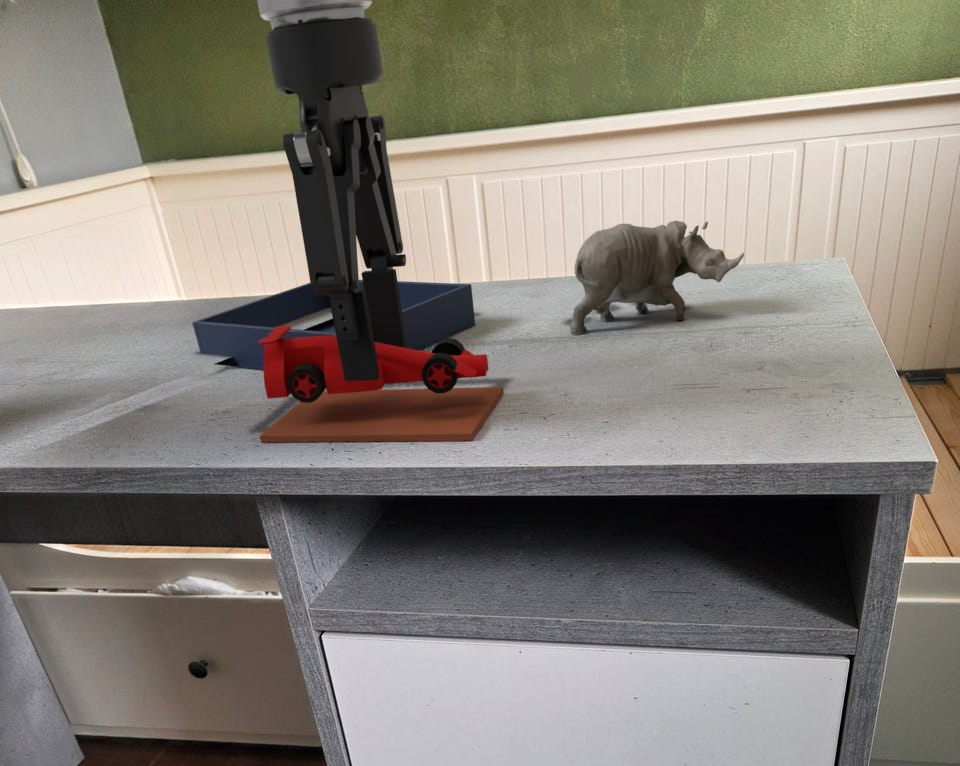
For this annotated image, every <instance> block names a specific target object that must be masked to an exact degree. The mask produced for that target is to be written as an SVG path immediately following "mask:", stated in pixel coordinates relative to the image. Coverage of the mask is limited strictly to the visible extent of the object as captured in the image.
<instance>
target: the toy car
mask: <svg viewBox="0 0 960 766" xmlns="http://www.w3.org/2000/svg"><path fill="white" fill-rule="evenodd" d="M290 329H292V326H291V325H280V326H277V327H274V329H273V332H271V333H269V336H268V337H265V338H263V339H261V340H260V341H259V342H258V344H265V346H264V370H263V382H264V383H263V384H264V388H265V389H264V390H265V393H266V398H267V399H282V398H288V397H290V395H292V397H293V398H294V399H295V400H297V401H299V402H303V403H311V402H314V401H316V400H317V399H318V398H319V397H320V395H321V394H322V393H323V392H324V391H327V394H340V393H353V392H364V391H374V390H383V388H384V387H385V385H392V384H405V383H420V382H423V385H424V387H426V389H429V390H431V391H433V392H435V393H446V392H448V391H450V390H451V389H452V388H455V386H456V385H457V382H458V380H459V379H468V378H469V379H472V378H483V377H484V378H485V377H486V376H487V374H488V371H489V361H488V356H487V354H486V353H484V354H482V353H481V354H474V353H472V352H470V351H469V350H468V349H466V348H465V346H464V345H463V343H461V341H459V340H458V339H456V338H451V337H448V338H445V339H442V340H440V341H439V342H438V343H435V344H434V347H433V348H432V351H431V352H428V351H424V350H420V351H418V350H413V349H408V348H403V347H398V346H393V345H388V344H383V343H378V342H374V343H375V349H376V355H377V361H378V367H379V372H380V378H379V379H378V380H361V381H345V379H344V374H343V369H342V364H341V358H340V353H339V348H338V343H337V337H336V336H312V337H300V338H288V339H282V337H283V336H284V335H285V334H286V333H287V332H288V331H289V330H290Z"/></svg>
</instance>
